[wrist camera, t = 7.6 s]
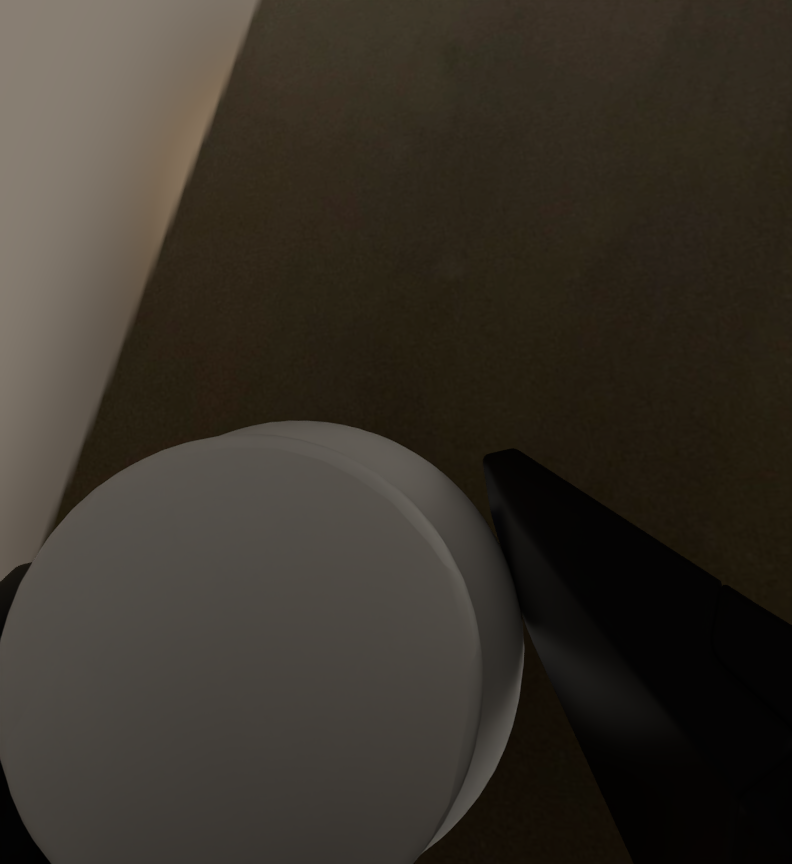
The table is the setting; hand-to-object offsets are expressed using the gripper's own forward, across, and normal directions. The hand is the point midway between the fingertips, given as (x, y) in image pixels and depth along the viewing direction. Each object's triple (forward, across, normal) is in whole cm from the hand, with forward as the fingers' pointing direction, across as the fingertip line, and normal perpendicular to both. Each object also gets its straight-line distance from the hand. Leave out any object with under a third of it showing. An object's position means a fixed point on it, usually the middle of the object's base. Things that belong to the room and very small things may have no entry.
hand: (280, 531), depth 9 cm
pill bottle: (+4, 0, +6) cm, 7 cm away
